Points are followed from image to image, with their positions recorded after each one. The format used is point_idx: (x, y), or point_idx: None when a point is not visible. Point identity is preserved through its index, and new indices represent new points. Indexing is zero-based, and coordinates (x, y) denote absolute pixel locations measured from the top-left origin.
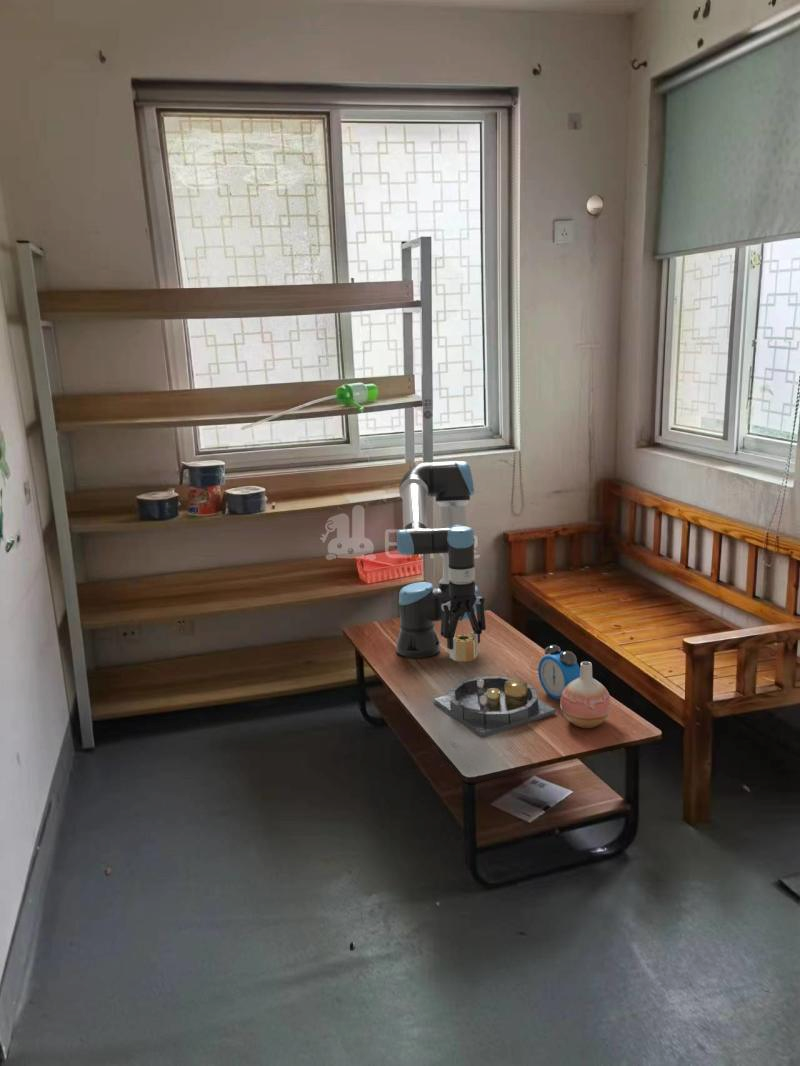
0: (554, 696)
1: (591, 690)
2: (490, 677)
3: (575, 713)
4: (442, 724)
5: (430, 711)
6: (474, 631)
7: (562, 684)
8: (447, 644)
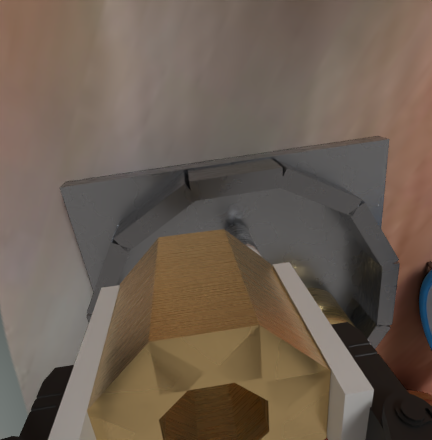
0: (422, 308)
1: None
2: (322, 194)
3: None
4: (54, 321)
5: (36, 234)
6: (375, 428)
7: None
8: (36, 405)
